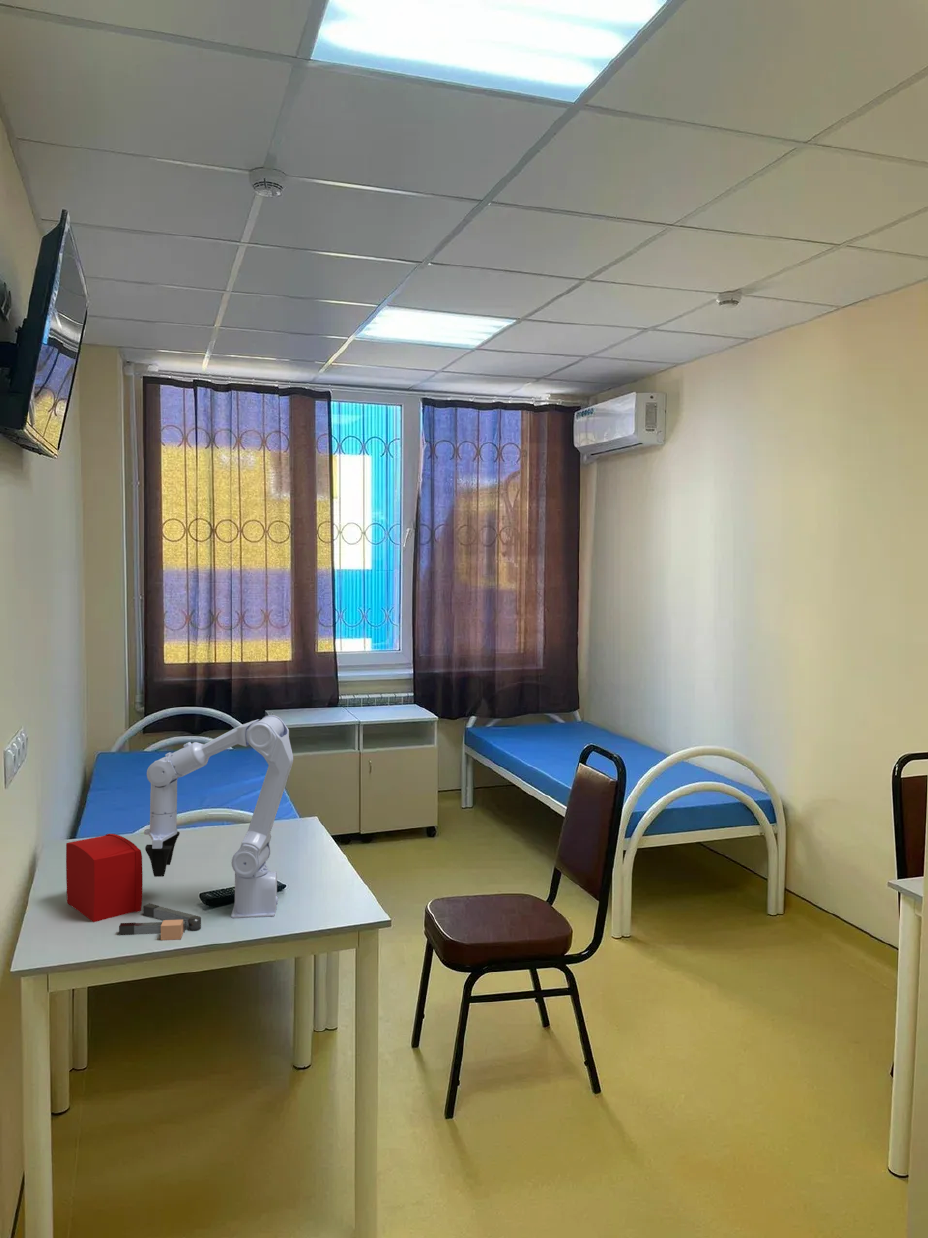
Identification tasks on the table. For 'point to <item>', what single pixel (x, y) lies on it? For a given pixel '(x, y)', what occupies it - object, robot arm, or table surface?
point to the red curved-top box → (104, 876)
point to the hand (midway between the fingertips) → (162, 870)
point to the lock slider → (171, 929)
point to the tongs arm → (172, 916)
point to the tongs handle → (142, 928)
